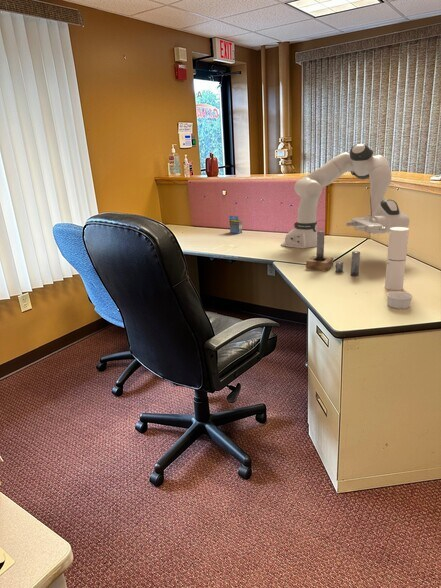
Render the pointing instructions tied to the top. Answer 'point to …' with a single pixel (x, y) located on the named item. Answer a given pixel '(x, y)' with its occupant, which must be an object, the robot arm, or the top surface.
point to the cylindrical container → (396, 258)
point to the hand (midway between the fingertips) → (350, 226)
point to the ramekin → (399, 299)
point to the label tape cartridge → (235, 225)
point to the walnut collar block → (319, 263)
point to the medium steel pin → (355, 263)
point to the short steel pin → (339, 267)
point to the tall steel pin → (320, 246)
